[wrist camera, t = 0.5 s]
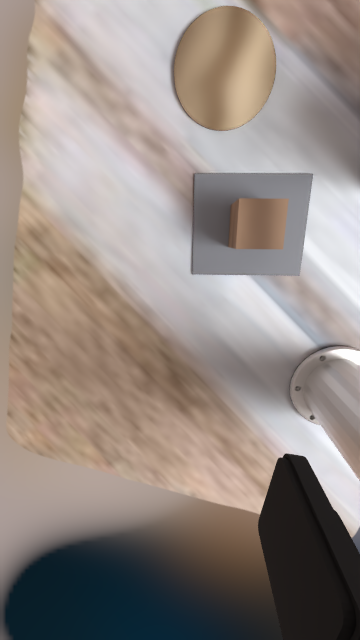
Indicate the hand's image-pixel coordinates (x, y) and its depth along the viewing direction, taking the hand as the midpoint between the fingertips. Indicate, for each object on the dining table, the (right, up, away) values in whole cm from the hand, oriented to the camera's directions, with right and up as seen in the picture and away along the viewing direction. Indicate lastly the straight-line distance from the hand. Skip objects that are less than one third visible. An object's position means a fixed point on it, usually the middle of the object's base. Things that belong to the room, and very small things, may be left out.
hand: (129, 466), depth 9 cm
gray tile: (+10, +16, +26) cm, 32 cm away
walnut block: (+10, +16, +26) cm, 32 cm away
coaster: (+6, +32, +21) cm, 39 cm away
